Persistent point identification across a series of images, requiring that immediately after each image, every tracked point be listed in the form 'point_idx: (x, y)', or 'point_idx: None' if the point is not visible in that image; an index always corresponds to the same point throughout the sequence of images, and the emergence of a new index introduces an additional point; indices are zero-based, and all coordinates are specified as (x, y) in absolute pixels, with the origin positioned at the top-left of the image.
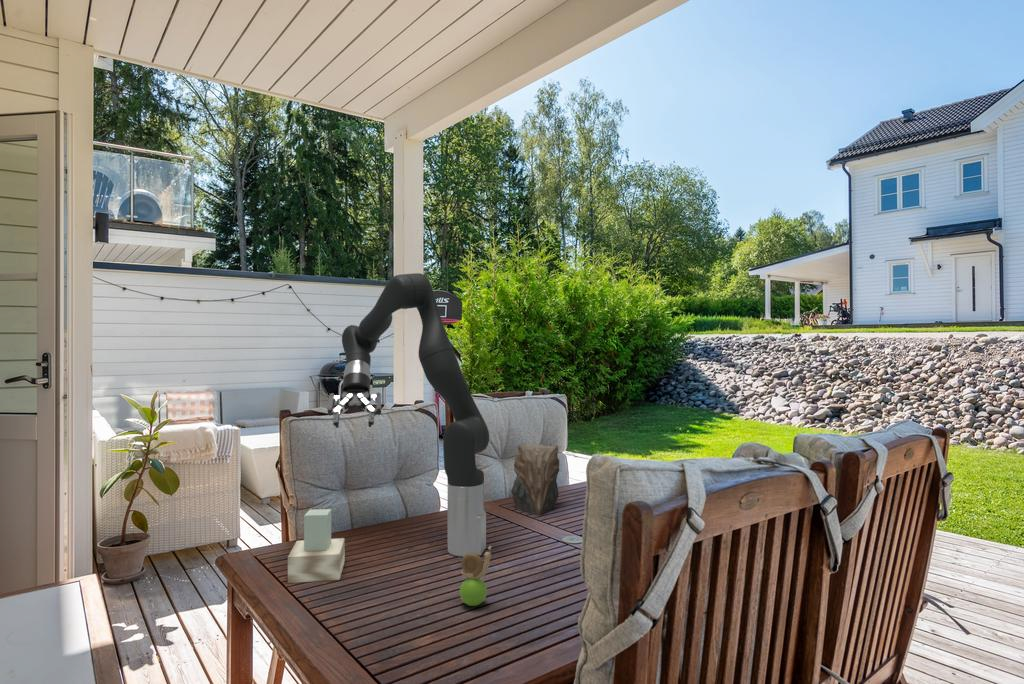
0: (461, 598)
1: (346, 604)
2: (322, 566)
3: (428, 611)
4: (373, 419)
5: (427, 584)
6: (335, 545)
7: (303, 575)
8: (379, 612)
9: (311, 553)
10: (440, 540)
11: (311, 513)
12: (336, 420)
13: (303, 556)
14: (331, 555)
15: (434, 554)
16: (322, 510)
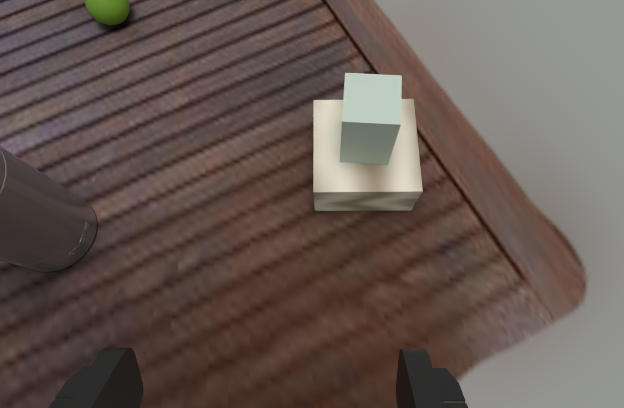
0: (129, 5)
1: (294, 41)
2: None
3: (181, 9)
4: (65, 386)
5: (167, 88)
6: (328, 148)
7: None
8: (247, 15)
9: None
10: (93, 315)
11: (387, 90)
12: (423, 369)
13: None
14: (329, 101)
15: (127, 222)
16: (364, 112)
